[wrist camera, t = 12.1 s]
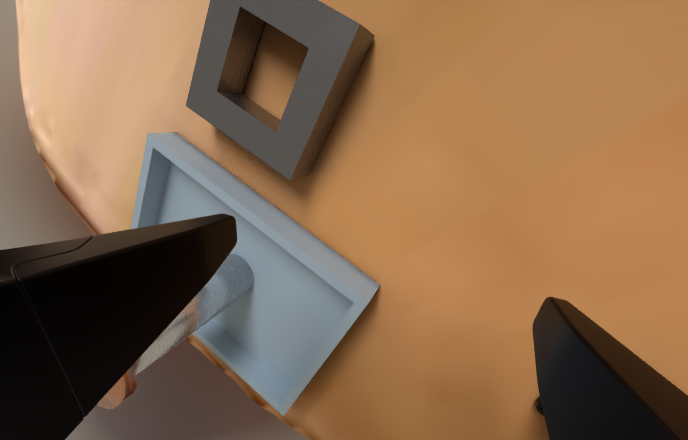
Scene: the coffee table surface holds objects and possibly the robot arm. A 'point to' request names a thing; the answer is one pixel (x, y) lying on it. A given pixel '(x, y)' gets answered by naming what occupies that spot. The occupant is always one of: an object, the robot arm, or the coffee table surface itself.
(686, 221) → the coffee table surface
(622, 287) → the coffee table surface
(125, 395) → the pin
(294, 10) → the block
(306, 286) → the tray
